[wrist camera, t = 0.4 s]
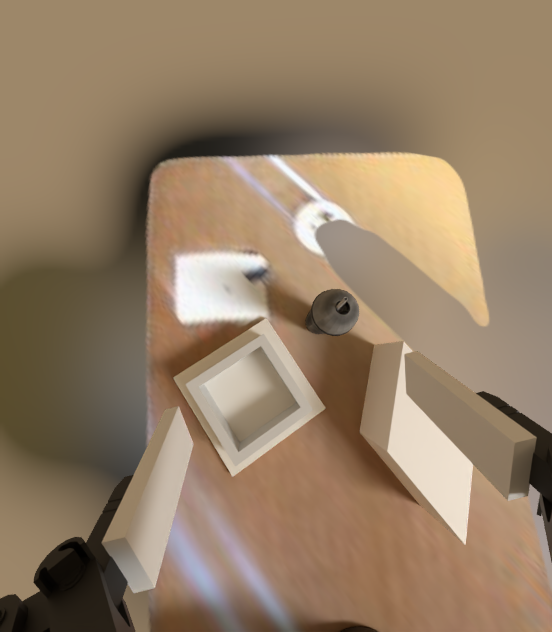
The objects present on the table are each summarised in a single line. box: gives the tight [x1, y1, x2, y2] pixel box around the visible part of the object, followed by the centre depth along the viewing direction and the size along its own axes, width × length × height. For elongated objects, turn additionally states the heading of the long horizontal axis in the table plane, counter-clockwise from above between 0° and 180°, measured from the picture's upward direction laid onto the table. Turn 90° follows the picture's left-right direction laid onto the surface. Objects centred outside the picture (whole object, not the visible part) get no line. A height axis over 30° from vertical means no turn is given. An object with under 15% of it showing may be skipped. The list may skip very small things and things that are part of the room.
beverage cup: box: [306, 289, 359, 336], centre depth 42 cm, size 7×7×20 cm
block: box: [359, 341, 473, 545], centre depth 45 cm, size 15×30×11 cm, turn 13°
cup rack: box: [173, 318, 326, 477], centre depth 46 cm, size 20×20×6 cm
